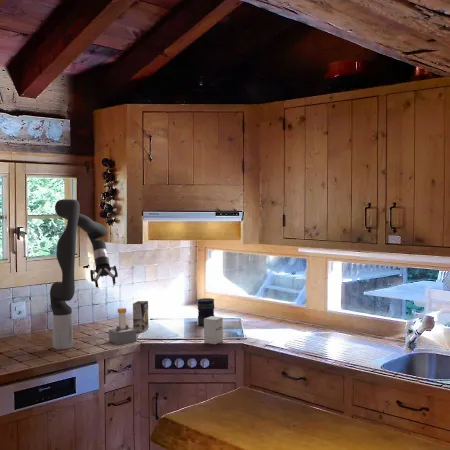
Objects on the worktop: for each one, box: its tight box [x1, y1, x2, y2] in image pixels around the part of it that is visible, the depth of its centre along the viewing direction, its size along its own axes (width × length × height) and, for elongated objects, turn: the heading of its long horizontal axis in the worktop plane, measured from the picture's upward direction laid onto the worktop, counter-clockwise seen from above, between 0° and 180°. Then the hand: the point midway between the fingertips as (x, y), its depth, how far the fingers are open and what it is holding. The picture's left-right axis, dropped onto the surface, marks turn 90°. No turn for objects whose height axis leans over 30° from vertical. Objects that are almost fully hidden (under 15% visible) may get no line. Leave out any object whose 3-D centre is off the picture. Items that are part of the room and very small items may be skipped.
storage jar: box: [197, 297, 215, 328], centre depth 327 cm, size 10×10×15 cm
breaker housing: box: [108, 324, 138, 346], centre depth 293 cm, size 10×11×8 cm
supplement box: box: [203, 315, 224, 345], centre depth 288 cm, size 7×7×13 cm
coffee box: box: [132, 300, 150, 333], centre depth 317 cm, size 9×6×16 cm
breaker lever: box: [117, 307, 127, 330], centre depth 293 cm, size 3×4×11 cm
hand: (105, 286), depth 297 cm, fingers open, 8 cm apart
